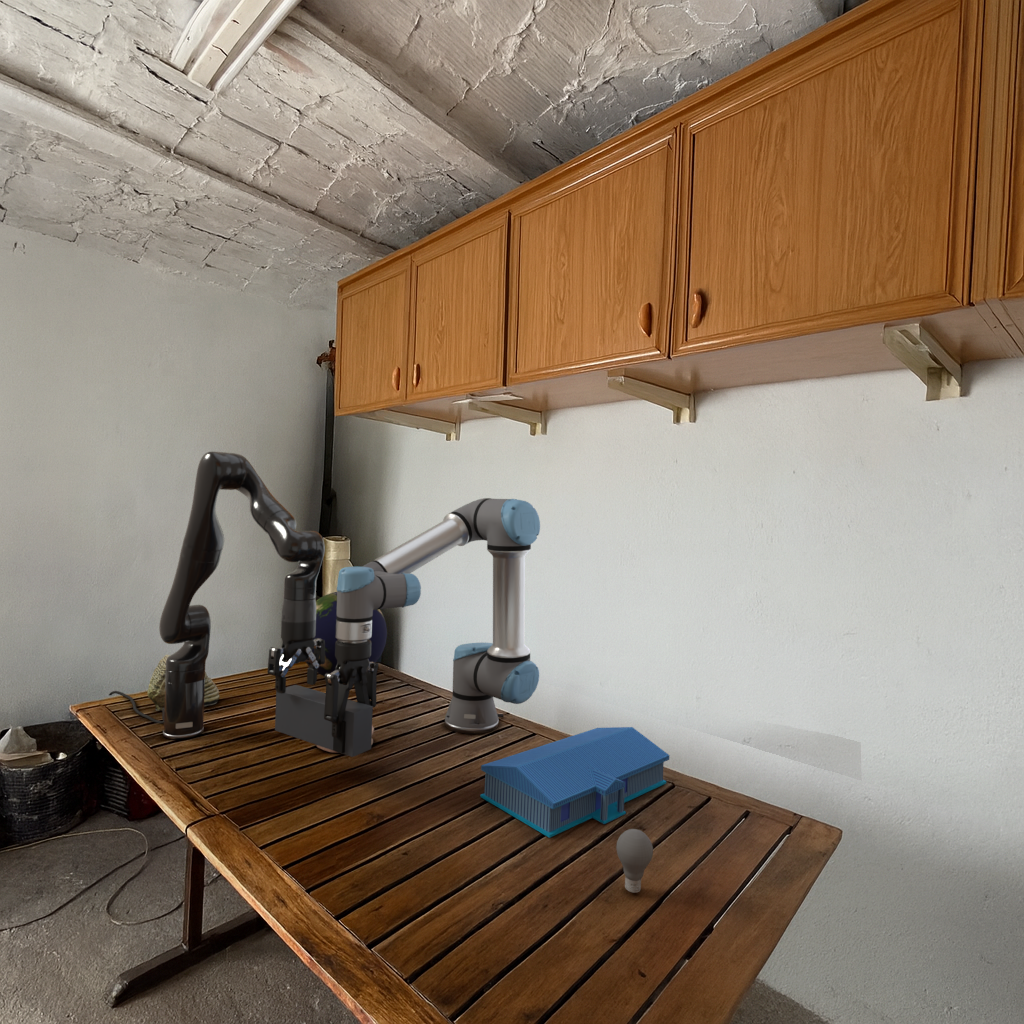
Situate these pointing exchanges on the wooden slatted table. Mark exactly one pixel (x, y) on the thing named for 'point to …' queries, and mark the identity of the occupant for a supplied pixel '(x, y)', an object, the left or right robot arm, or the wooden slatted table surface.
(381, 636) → the globe
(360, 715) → the bar
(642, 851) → the light bulb
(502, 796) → the model building
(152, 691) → the fossil
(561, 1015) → the wooden slatted table surface
